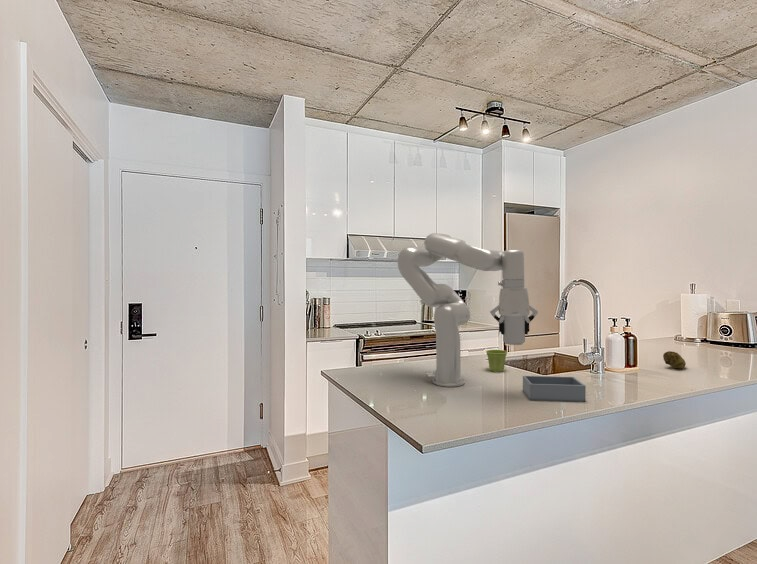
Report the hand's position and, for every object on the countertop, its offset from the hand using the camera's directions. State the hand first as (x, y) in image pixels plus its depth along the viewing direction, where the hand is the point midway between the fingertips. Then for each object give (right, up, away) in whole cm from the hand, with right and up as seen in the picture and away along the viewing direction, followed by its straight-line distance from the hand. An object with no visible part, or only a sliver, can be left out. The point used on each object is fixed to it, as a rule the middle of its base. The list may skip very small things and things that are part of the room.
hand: (514, 333), depth 149 cm
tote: (+13, -22, -1) cm, 26 cm away
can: (0, -4, 0) cm, 4 cm away
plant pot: (+4, -21, +37) cm, 43 cm away
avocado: (+85, -21, +39) cm, 96 cm away
